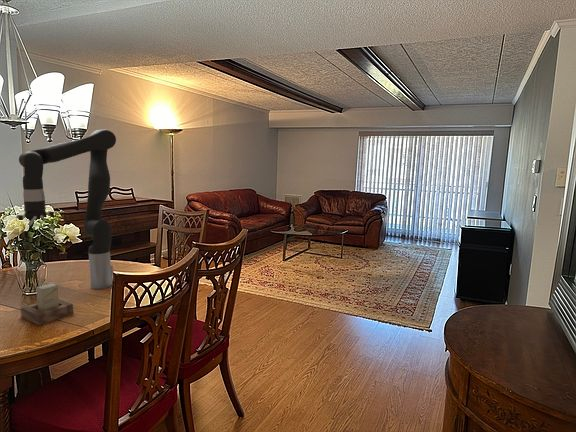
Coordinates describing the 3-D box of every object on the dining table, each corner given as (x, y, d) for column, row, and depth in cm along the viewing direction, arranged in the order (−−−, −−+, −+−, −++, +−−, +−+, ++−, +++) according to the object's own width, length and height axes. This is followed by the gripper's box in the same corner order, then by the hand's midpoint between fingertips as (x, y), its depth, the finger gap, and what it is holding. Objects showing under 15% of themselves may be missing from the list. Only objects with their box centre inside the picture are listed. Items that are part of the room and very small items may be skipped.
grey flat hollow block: (55, 306, 161) (54, 297, 161) (73, 313, 155) (72, 304, 154) (21, 317, 150) (20, 307, 150) (39, 325, 144) (38, 315, 143)
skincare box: (44, 319, 149) (41, 289, 147) (38, 316, 152) (35, 287, 150) (60, 313, 155) (58, 284, 153) (54, 311, 157) (51, 282, 155)
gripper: (47, 197, 170) (49, 233, 172) (11, 200, 157) (14, 238, 160) (56, 198, 166) (59, 235, 169) (20, 202, 154) (24, 241, 156)
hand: (37, 237), depth 164 cm, fingers open, 8 cm apart
